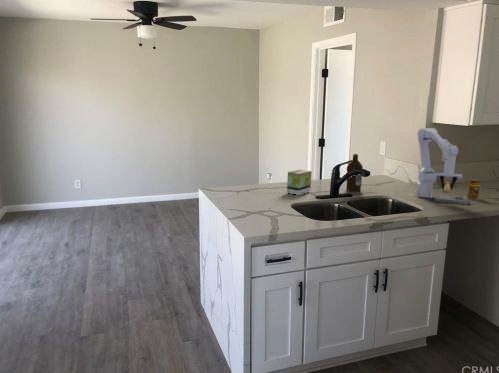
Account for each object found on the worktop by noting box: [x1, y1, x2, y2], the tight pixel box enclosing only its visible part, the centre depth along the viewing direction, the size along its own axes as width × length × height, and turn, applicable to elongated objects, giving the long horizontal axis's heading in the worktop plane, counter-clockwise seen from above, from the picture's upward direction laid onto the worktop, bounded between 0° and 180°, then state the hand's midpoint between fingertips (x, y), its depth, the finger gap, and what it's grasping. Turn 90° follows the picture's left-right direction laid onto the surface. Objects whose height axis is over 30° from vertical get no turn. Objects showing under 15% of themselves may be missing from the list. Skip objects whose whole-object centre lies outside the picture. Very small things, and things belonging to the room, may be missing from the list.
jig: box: [435, 194, 470, 206], centre depth 262 cm, size 18×11×2 cm, turn 67°
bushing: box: [442, 181, 452, 194], centre depth 254 cm, size 4×4×6 cm
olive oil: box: [346, 153, 364, 192], centre depth 289 cm, size 11×11×25 cm
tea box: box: [286, 169, 312, 196], centre depth 280 cm, size 15×10×15 cm, turn 143°
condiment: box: [463, 179, 480, 201], centre depth 269 cm, size 7×8×12 cm
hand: (447, 188), depth 255 cm, fingers closed on bushing, 4 cm apart
